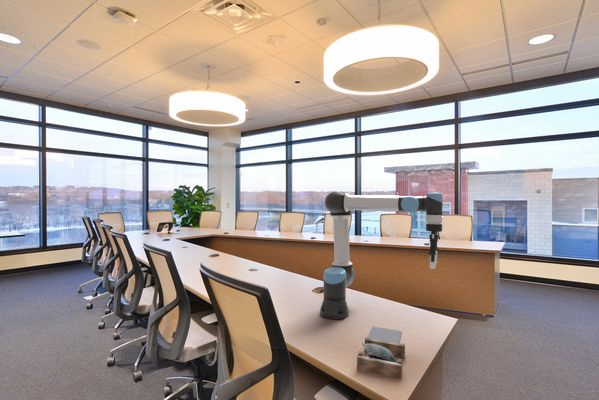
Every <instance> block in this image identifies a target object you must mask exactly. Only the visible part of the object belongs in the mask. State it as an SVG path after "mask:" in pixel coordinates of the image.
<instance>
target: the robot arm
mask: <svg viewBox="0 0 599 400" xmlns="http://www.w3.org/2000/svg"><path fill="white" fill-rule="evenodd" d="M324 206H325V208H326V209H327V210H328V211H329V212H330V213H329V214H330V215H329V216H330V217H331V218H332V221H333V222H332V223H333V253H334V255H333V257H334V261H332V262H331V267H328V268H326V269H325V270H324V271H323V276H322V279H323V299H322V302H321V306H320V308H319V309H320V310H319V313H320V316H322V317H324V318H326V319H329V320H331V319H332V320H341V319H346V318H348V317H349V316H350V309H349V306H348V303H347V294H346V293H347V290H346V289H347V288H348V287H350V286H351V285H352V284H353V283H354V281H355V277H356V273H355V269H354V268H353V262H352V261H351V258H350V255H351V254H350V229H349V228H350V227H349V225H350V224H349V223H350V222H349V218H350V217H351V216H352V211H371V212H373V211H375V212H405V213H414V212H426V213H425V223H426V224H425V230H426V231H427V232H430V234H429V236H428V237H429V243H430V244H429V245H430V246H429V252H428V255H429V269H435V270H436V269H437V267H436V266H437V264H438V252H439V249H440V248H438V241H439V234H438V233H441V232H443V224H442V223H443V219H444V218H445V217H444V216H443V206H444V205H443V194H442V193H441V192H426V194H425V195H424V196H416V195H415V196H413V195H357V194H356V195H355V194H354V195H351V194H349V193H347V192H345V191H332V192H329V193H328V194H327V195H326V196H325V198H324Z"/></svg>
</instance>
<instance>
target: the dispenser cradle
mask: <svg viewBox="0 0 599 400" xmlns="http://www.w3.org/2000/svg"><path fill="white" fill-rule="evenodd" d="M364 344H377V345H379V346H382V347H385V348H387V349H388V350H390V351H391V353H392V354H393V356H397V357H400V358H398V359H397V363H394V362H389V361H384V360H379V359H374V358H370V357H369V356H363V355H364V354H363V353H364V352H365V353H367V352H366V350H365V349H364V352H363V351H360V350H359V351H358V353H357V357H356V369H357V370H359V371H364V372H367V373H368V372H369V373H373V374H378V375H381V376H386V377H387V376H388V377H391V378H396V379H402V377H403V360H406V358H405V357H406V344H405V343H399V344H397V343H392V342H386V341H380V340H375V339H369V338H368V336H365V337H364Z"/></svg>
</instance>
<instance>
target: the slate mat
mask: <svg viewBox="0 0 599 400" xmlns="http://www.w3.org/2000/svg"><path fill="white" fill-rule="evenodd" d="M401 335H402V330H398V329H390V328H383V327H379V326H372V327H371V328H370V331H369V333H368V336H367V337H368V338H369V339H375V340H380V341H386V342H392V343H397V344H400V341H401V337H402V336H401Z"/></svg>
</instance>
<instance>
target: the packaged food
mask: <svg viewBox="0 0 599 400" xmlns="http://www.w3.org/2000/svg"><path fill="white" fill-rule="evenodd" d="M361 345H362V346H363V347H364V348H363V349H364V351H365V350H366V352H365V353H367V356H368V357H369V358H374V359H379V360H384V361H389V362H394V363H398V360H397V359H396V358H395V355H393V354H392V353H391V351H390V350H388V349H387V348H385V347H382V346H379V345H377V344H365V343H364V342H362V343H361Z"/></svg>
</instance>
